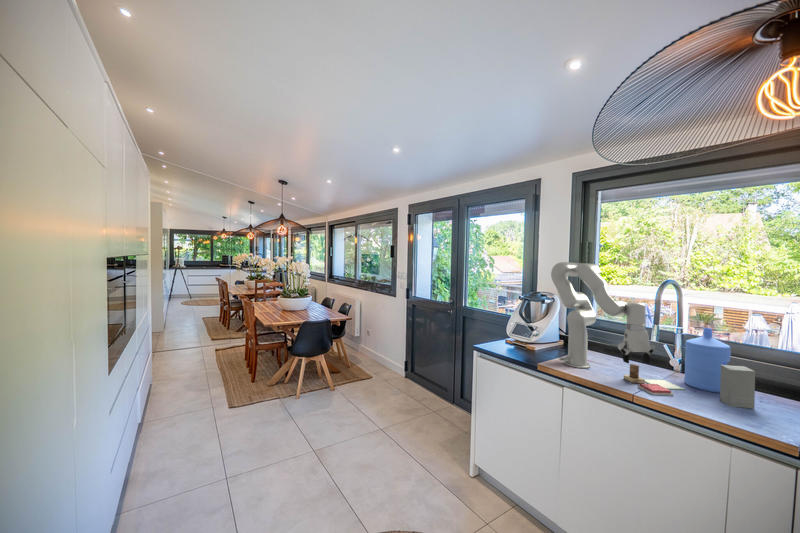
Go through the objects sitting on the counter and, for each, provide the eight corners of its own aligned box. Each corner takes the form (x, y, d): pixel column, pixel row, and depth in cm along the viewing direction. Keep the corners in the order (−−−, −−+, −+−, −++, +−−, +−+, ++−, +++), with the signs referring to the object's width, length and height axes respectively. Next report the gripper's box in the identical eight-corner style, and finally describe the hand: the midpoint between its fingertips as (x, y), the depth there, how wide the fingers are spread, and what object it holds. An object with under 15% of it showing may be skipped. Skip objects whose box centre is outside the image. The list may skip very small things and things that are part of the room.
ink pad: (652, 395, 139) (652, 390, 139) (637, 387, 148) (637, 383, 148) (673, 395, 139) (673, 391, 139) (657, 387, 148) (657, 383, 148)
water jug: (694, 390, 146) (696, 330, 146) (677, 379, 161) (679, 324, 161) (738, 395, 141) (740, 333, 140) (717, 383, 155) (718, 327, 155)
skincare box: (743, 403, 133) (744, 365, 133) (756, 410, 126) (757, 371, 126) (718, 400, 136) (719, 363, 136) (729, 406, 129) (730, 368, 129)
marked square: (658, 389, 146) (658, 388, 146) (639, 379, 158) (639, 378, 158) (685, 389, 146) (685, 389, 146) (664, 380, 158) (664, 379, 158)
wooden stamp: (632, 383, 153) (632, 366, 153) (623, 379, 159) (624, 363, 159) (644, 384, 152) (645, 367, 152) (635, 379, 158) (636, 363, 158)
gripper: (623, 328, 152) (623, 364, 151) (660, 329, 151) (660, 365, 151) (613, 326, 159) (613, 360, 159) (648, 326, 159) (648, 360, 158)
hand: (636, 362), depth 155 cm, fingers open, 9 cm apart
